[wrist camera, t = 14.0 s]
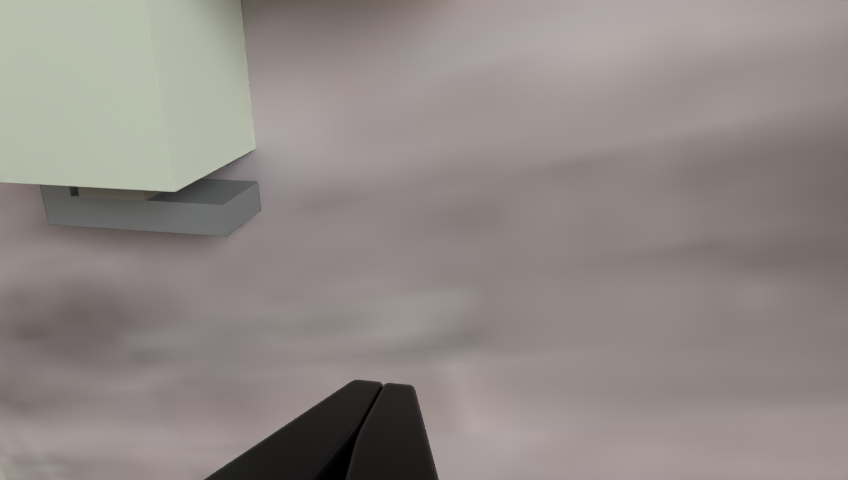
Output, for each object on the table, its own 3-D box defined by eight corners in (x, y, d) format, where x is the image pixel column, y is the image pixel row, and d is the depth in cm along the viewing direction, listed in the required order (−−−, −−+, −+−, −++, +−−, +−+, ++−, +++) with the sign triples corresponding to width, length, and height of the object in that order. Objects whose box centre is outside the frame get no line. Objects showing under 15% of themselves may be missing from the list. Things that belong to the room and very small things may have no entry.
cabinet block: (258, 165, 20) (178, 214, 15) (121, 159, 21) (5, 203, 16) (238, -35, 18) (138, -49, 13) (85, -35, 18) (-62, -48, 14)
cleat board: (511, 225, 19) (507, 294, 15) (100, 200, 21) (-17, 255, 17) (535, -137, 15) (539, -197, 11) (35, -124, 17) (-140, -170, 13)
